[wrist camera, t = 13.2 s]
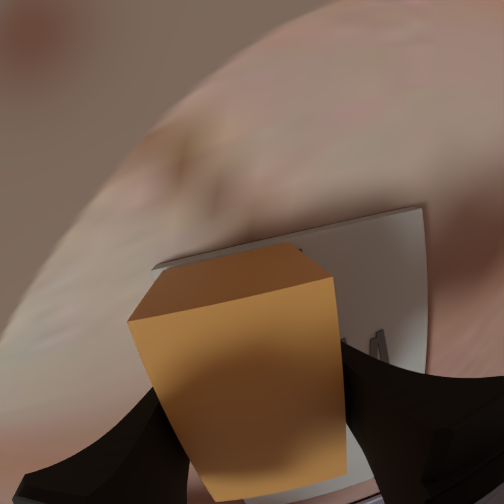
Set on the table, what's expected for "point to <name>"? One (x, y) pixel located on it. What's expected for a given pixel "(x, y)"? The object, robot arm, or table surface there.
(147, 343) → the block
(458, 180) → the table surface
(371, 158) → the table surface
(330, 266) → the board
